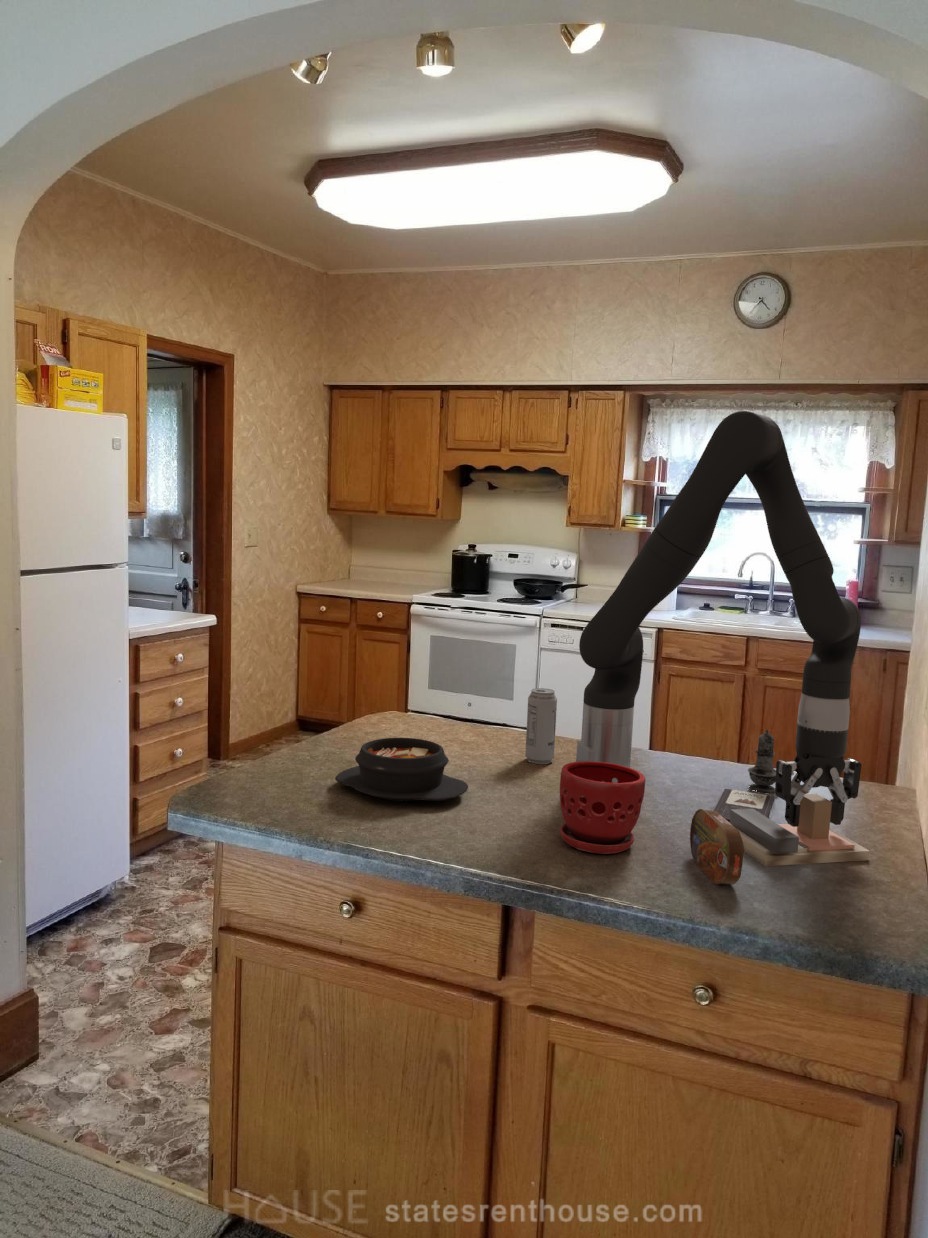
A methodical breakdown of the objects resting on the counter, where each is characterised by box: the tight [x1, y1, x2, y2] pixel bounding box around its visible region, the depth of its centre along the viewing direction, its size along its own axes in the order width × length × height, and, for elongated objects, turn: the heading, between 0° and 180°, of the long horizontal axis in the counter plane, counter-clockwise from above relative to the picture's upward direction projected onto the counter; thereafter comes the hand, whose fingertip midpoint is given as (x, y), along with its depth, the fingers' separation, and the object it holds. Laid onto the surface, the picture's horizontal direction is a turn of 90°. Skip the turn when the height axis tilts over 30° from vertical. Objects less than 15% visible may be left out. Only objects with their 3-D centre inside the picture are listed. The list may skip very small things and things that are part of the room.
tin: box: [689, 808, 745, 885], centre depth 131 cm, size 15×3×8 cm, turn 5°
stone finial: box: [747, 728, 776, 795], centre depth 172 cm, size 6×6×12 cm
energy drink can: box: [524, 687, 558, 765], centre depth 185 cm, size 6×6×15 cm
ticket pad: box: [730, 809, 870, 867], centre depth 142 cm, size 18×13×4 cm
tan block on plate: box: [777, 793, 855, 851], centre depth 142 cm, size 8×10×7 cm
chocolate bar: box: [713, 788, 775, 822], centre depth 161 cm, size 9×1×18 cm
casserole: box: [335, 737, 469, 802], centre depth 162 cm, size 25×19×8 cm
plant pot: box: [559, 761, 646, 855], centre depth 140 cm, size 13×13×12 cm
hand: (813, 824), depth 142 cm, fingers open, 7 cm apart
